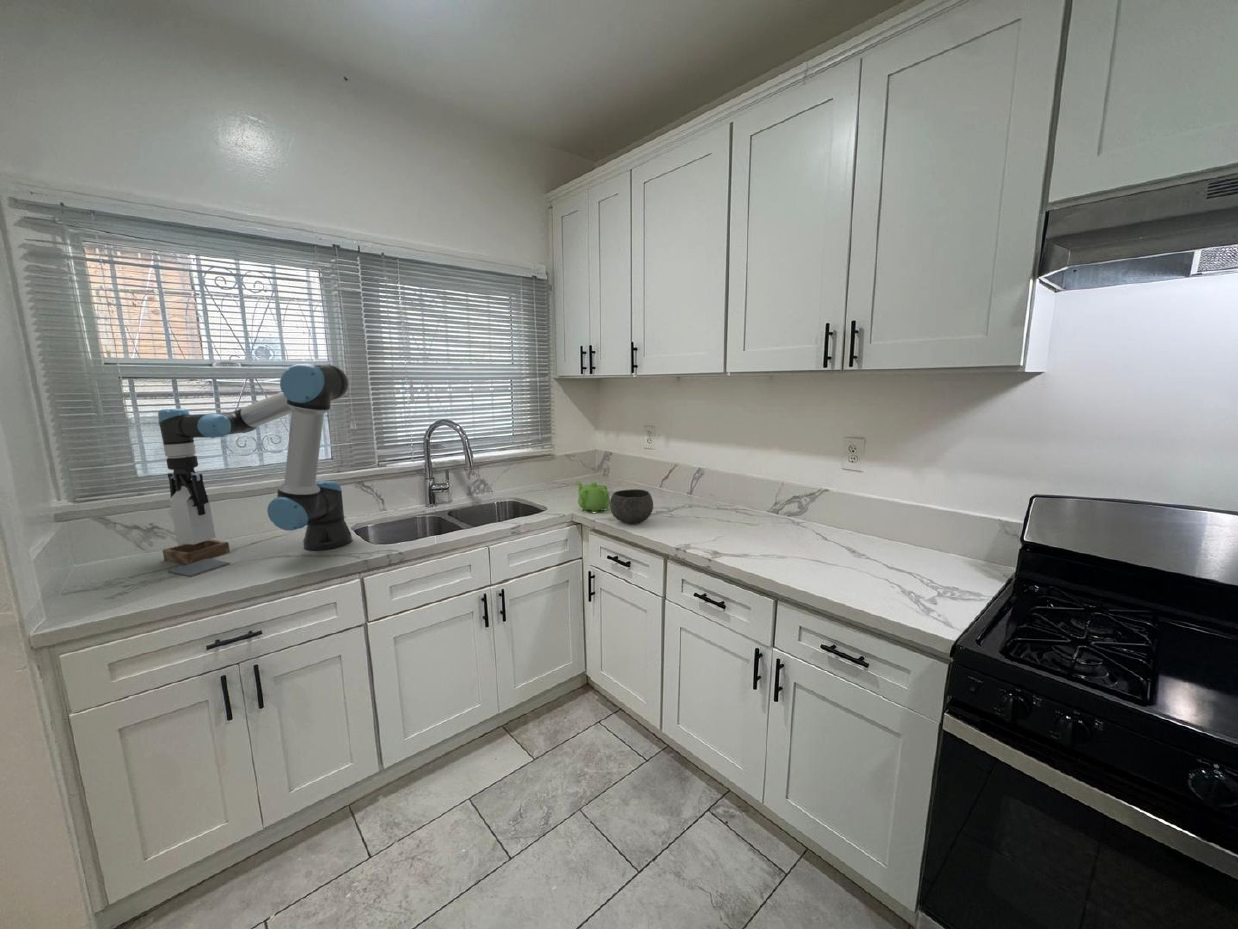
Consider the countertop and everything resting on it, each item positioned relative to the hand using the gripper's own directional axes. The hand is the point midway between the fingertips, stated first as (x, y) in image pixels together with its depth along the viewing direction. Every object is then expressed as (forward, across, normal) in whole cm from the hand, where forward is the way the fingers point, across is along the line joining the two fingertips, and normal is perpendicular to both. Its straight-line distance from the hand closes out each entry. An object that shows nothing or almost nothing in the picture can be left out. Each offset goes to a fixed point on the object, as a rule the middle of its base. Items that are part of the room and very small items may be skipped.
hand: (193, 523), depth 163 cm
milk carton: (+6, 0, 0) cm, 6 cm away
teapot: (+14, -103, -98) cm, 143 cm away
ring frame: (+11, +1, 0) cm, 11 cm away
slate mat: (+12, -12, +7) cm, 18 cm away
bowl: (+15, -126, -85) cm, 153 cm away
